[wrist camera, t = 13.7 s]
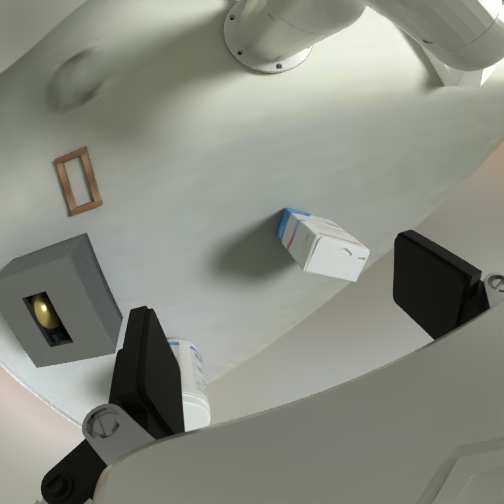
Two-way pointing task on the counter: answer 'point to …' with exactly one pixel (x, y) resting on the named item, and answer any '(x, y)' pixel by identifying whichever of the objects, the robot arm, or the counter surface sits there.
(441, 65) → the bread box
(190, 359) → the supplement tub
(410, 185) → the counter surface
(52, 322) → the coin
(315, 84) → the counter surface
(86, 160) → the cradle
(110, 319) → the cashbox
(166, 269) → the counter surface
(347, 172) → the counter surface
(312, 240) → the ink box
